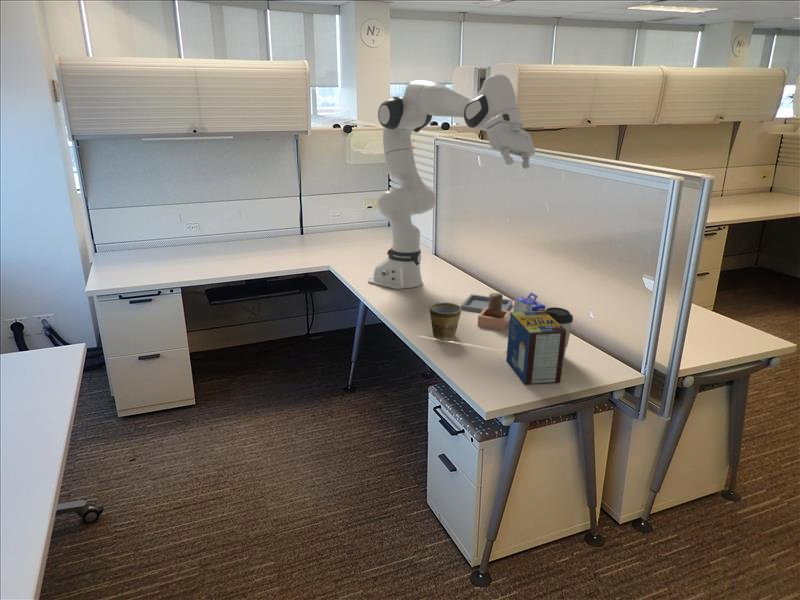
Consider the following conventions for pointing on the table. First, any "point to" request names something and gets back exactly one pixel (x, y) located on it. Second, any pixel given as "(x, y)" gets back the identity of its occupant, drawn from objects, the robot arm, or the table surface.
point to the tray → (482, 303)
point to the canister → (495, 305)
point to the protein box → (535, 347)
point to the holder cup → (493, 319)
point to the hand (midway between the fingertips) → (518, 166)
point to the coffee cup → (562, 321)
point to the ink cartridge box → (527, 304)
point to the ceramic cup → (444, 320)
